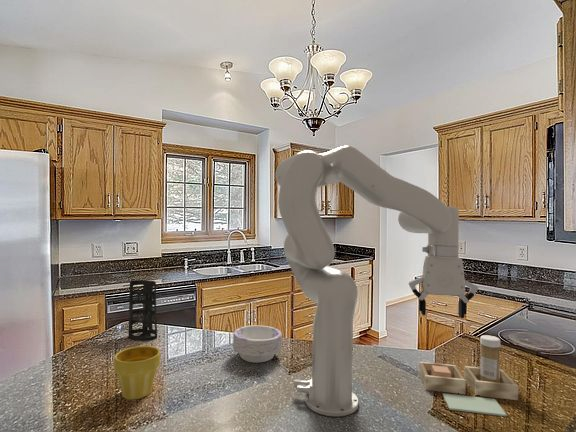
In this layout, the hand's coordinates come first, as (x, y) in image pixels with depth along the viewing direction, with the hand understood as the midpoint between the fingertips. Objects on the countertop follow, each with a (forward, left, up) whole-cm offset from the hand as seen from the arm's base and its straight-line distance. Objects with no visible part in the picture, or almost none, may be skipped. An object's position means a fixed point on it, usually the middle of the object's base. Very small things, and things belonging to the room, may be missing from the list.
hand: (442, 315), depth 94 cm
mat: (+5, -10, -18) cm, 21 cm away
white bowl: (-53, +5, -19) cm, 56 cm away
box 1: (0, 0, -18) cm, 18 cm away
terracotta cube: (0, 0, -18) cm, 18 cm away
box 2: (+12, 0, -18) cm, 22 cm away
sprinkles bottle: (+12, 0, -18) cm, 22 cm away
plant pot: (-75, -24, -18) cm, 81 cm away
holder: (-98, +12, -18) cm, 100 cm away
